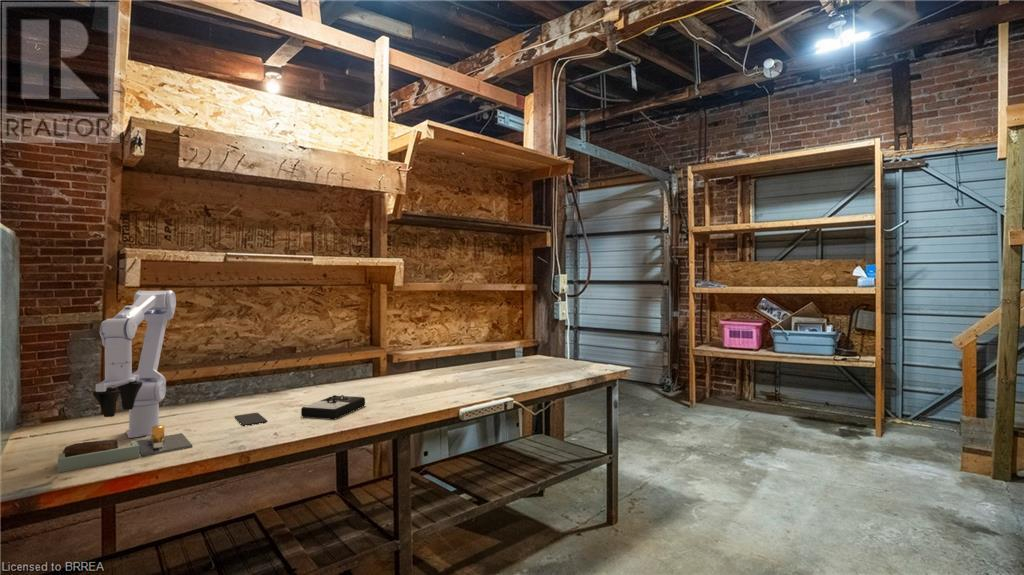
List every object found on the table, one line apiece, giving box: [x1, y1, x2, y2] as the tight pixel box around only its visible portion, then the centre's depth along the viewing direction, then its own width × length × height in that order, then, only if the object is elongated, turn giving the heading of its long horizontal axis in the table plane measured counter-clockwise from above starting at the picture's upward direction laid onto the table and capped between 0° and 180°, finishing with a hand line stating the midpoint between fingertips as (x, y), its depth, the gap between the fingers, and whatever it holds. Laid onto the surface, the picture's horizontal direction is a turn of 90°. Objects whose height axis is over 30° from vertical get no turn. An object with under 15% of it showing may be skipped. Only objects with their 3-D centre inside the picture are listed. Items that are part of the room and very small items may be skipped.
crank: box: [146, 424, 165, 448], centre depth 137 cm, size 10×4×5 cm, turn 40°
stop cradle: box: [57, 440, 140, 473], centre depth 126 cm, size 6×16×3 cm, turn 133°
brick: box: [62, 439, 119, 457], centre depth 127 cm, size 11×4×5 cm, turn 104°
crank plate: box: [136, 432, 193, 457], centre depth 139 cm, size 15×11×1 cm
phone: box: [234, 412, 268, 427], centre depth 165 cm, size 7×1×15 cm
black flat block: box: [300, 394, 366, 420], centre depth 176 cm, size 13×19×5 cm
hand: (118, 412), depth 135 cm, fingers open, 7 cm apart
